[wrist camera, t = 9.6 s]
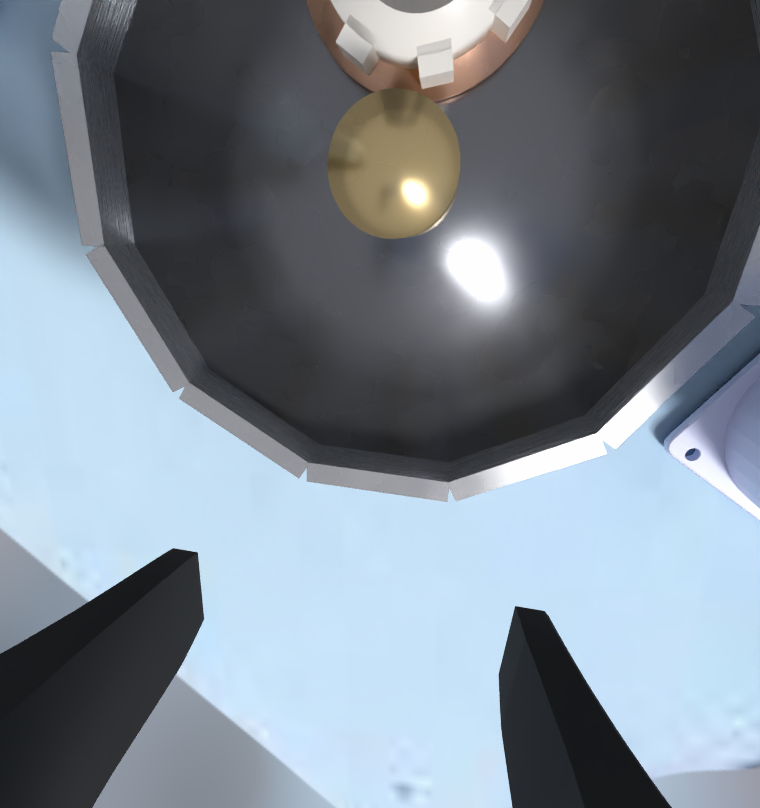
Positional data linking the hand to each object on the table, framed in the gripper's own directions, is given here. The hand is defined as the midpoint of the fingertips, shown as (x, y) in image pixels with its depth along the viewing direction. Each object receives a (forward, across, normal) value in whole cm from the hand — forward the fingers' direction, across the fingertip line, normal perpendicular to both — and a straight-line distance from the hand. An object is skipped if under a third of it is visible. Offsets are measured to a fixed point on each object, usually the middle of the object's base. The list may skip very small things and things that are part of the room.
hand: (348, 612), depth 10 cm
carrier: (+9, 0, -9) cm, 13 cm away
